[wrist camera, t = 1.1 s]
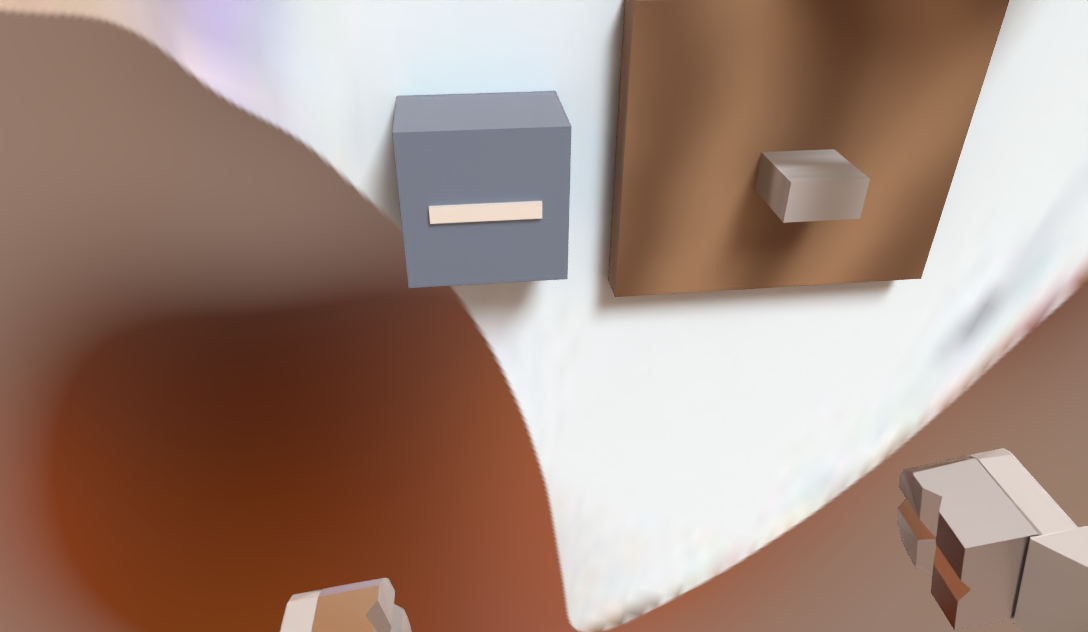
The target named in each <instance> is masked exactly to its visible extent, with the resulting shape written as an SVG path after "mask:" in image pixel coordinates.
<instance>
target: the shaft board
mask: <svg viewBox="0 0 1088 632" xmlns="http://www.w3.org/2000/svg"><path fill="white" fill-rule="evenodd" d="M1008 3H1009V0H625V8H624V25H623V42H622V59H621V75H620V92H619V109H618V126H617V142H616V159H615V176H614V193H613V209H612V226H611V243H610V260H609V276H608V280H609V282H610V285H611V288H612V290H613V293H614V296H615V297H621V296H637V295H654V294H671V293H687V292H704V291H721V290H738V289H754V288H771V287H788V286H804V285H821V284H838V283H855V282H871V281H888V280H905V279H921V277H922V274H923V270H924V267H925V264H926V261H927V258H928V255H929V251H930V248H931V245H932V242H933V239H934V236H935V233H936V229H937V226H938V223H939V220H940V217H941V214H942V211H943V207H944V204H945V201H946V198H947V195H948V192H949V189H950V185H951V182H952V179H953V176H954V173H955V170H956V166H957V163H958V160H959V157H960V154H961V151H962V148H963V144H964V141H965V138H966V135H967V132H968V129H969V126H970V122H971V119H972V116H973V113H974V110H975V107H976V103H977V100H978V97H979V94H980V91H981V88H982V85H983V81H984V78H985V75H986V72H987V69H988V66H989V63H990V59H991V56H992V53H993V50H994V47H995V44H996V41H997V37H998V34H999V31H1000V28H1001V25H1002V22H1003V18H1004V15H1005V12H1006V9H1007V6H1008Z"/></svg>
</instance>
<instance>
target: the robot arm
mask: <svg viewBox="0 0 1088 632" xmlns="http://www.w3.org/2000/svg"><path fill="white" fill-rule="evenodd" d="M899 488H900V490H901V491H902V492H903V494H904V495H905V497H906V499H905V500H904V501H903V502H902V503H901V505H900V506H899V507H898V527H899V531H900V535H901V539H902V542H903V544H904V546H905V549H906V551H907V553H908V555H909V557H910V559H911V560H912V562H913V564H914V565H915V567H916V568H917V569H919V570H921V571H922V572H924V573H926V574H928V575H929V576H931V577H932V585H931V593H932V595H933V597H934V598H935V600H936V601H937V603H938V605H939V606H940V608H941V609H942V611H943V613H944V614H945V616H946V618H947V619H948V621H949V622H950V624H951V626H952V627H953V629H954V630H959V629H964V628H970V627H976V626H982V625H988V624H994V623H1000V622H1006V621H1012V620H1014V621H1013V624H1015V625H1016V626H1018V627H1019V628H1021V629H1022V630H1023V631H1025V632H1088V526H1084V527H1077V526H1076V525H1075V524H1074V523H1073V521H1072V520H1071V519H1070V518H1069V517H1068V516H1067V514H1066V513H1065V512H1064V511H1063V510H1062V509H1061V508H1060V507H1059V506H1058V504H1057V503H1056V502H1055V501H1054V500H1053V499H1052V498H1051V497H1050V496H1049V494H1048V493H1047V492H1046V491H1045V490H1044V489H1043V488H1042V487H1041V485H1040V484H1039V483H1038V482H1037V481H1036V480H1035V479H1034V478H1033V477H1032V475H1031V474H1030V473H1029V472H1028V471H1027V470H1026V469H1025V468H1024V466H1023V465H1022V464H1021V463H1020V462H1019V461H1018V460H1017V459H1016V458H1015V456H1014V455H1013V454H1012V453H1011V452H1009V451H1007V450H1006V449H1004V448H1002V449H997V450H992V451H987V452H983V453H978V454H973V455H970V456H962V457H957V458H952V459H948V460H943V461H939V462H934V463H930V464H925V465H921V466H916V467H912V468H907V469H904V470H903V471H902V473H901V475H900V483H899ZM394 596H395V590H394V589H393V587H392V585H391V583H390V581H389V579H388V578H381V579H375V580H370V581H364V582H359V583H353V584H348V585H342V586H336V587H331V588H325V589H321V590H316V591H311V592H306V593H300V594H295V595H292V597H291V599H290V600H289V602H288V603H287V605H286V609H285V613H284V617H283V621H282V625H281V629H280V632H412V631H411V628H410V624H409V620H408V617H407V615H406V613H405V611H404V609H403V608H400V607H399V606H397V605H395V604H394Z"/></svg>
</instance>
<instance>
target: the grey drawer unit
mask: <svg viewBox="0 0 1088 632" xmlns="http://www.w3.org/2000/svg"><path fill="white" fill-rule="evenodd" d="M392 136H393V145H394V155H395V164H396V173H397V183H398V192H399V202H400V211H401V221H402V230H403V239H404V249H405V258H406V267H407V277H408V286H409V288H417V287H435V286H453V285H470V284H488V283H505V282H523V281H541V280H558V279H567V271H568V232H569V194H570V155H571V125H570V122H569V120H568V118H567V116H566V113H565V111H564V109H563V107H562V105H561V102H560V100H559V98H558V96H557V93H556V91H544V92H512V93H479V94H447V95H415V96H397V99H396V107H395V115H394V122H393V130H392Z"/></svg>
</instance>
